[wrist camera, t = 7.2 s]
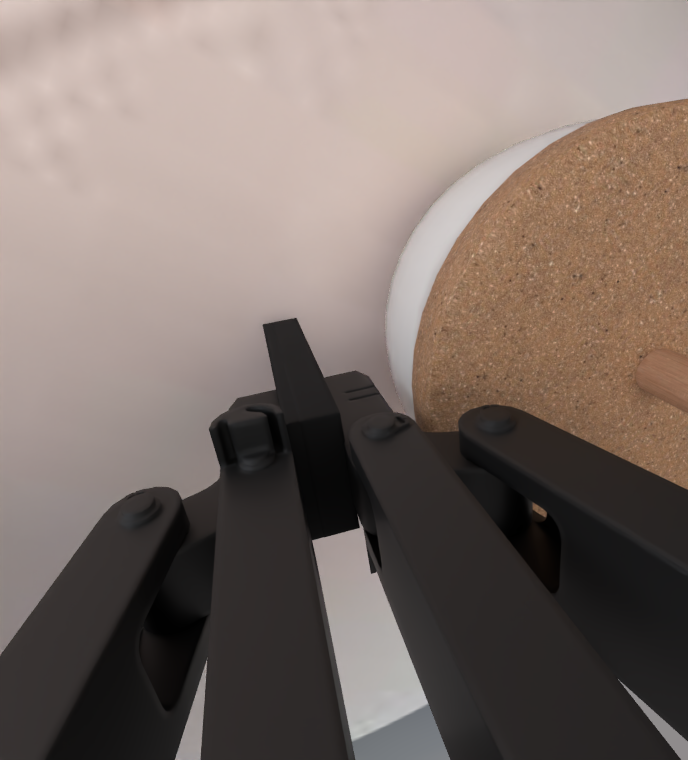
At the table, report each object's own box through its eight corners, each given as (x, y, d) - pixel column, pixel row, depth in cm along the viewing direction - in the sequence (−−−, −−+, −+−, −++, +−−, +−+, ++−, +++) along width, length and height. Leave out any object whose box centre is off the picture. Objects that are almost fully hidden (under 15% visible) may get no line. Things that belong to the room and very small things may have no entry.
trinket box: (669, 269, 19) (1010, 346, 11) (481, 465, 21) (646, 661, 13) (502, 47, 15) (847, -111, 7) (285, 317, 17) (335, 463, 8)
